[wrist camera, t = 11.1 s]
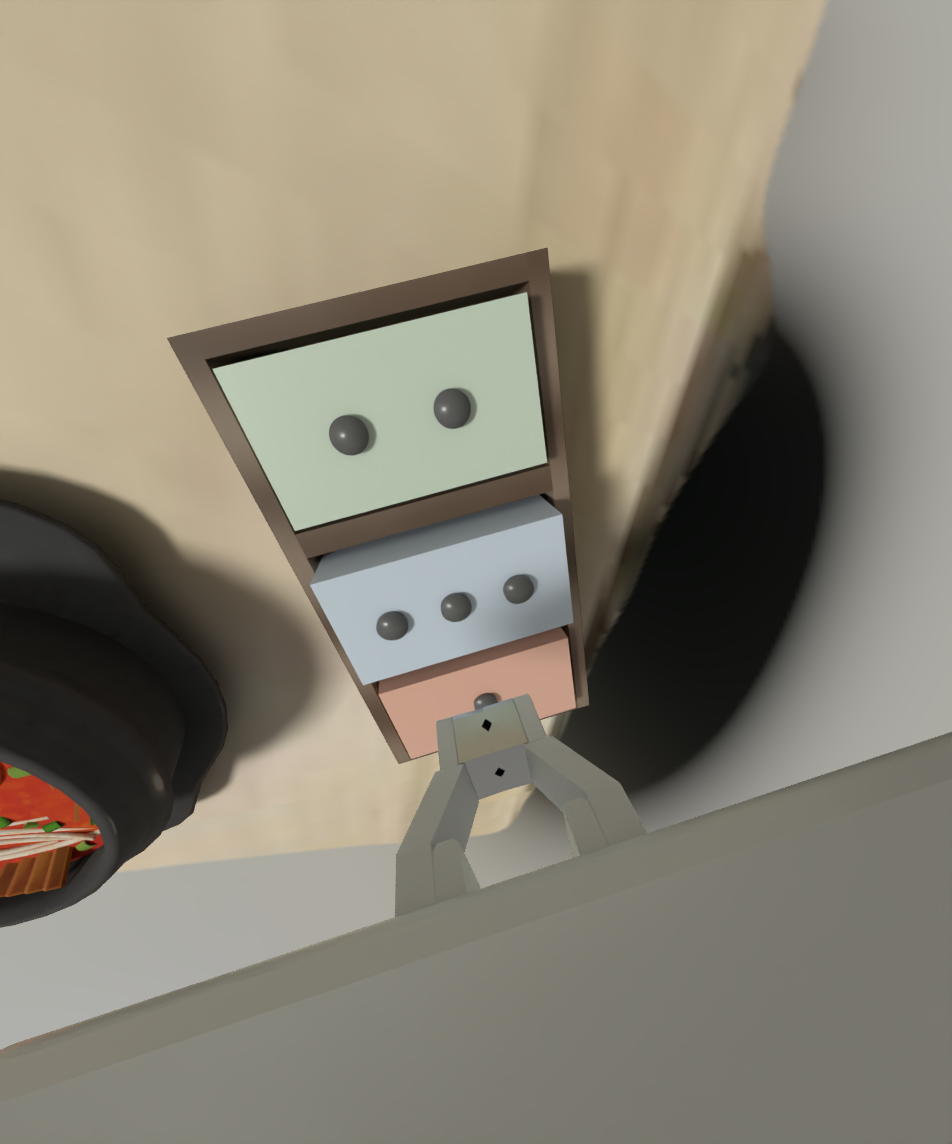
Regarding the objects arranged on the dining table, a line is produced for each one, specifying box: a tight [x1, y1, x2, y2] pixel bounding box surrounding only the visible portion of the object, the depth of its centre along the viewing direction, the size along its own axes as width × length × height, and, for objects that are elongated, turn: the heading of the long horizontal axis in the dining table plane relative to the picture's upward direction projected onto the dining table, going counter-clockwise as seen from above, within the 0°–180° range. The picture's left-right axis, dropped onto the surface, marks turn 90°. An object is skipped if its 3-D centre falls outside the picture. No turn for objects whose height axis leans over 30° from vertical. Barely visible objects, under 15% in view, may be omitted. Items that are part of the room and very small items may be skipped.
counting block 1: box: [213, 292, 547, 531], centre depth 15 cm, size 6×11×4 cm, turn 103°
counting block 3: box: [378, 627, 576, 759], centre depth 23 cm, size 6×11×4 cm, turn 102°
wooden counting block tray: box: [167, 248, 589, 764], centre depth 20 cm, size 24×13×4 cm, turn 13°
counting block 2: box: [310, 495, 574, 685], centre depth 18 cm, size 6×11×4 cm, turn 102°
